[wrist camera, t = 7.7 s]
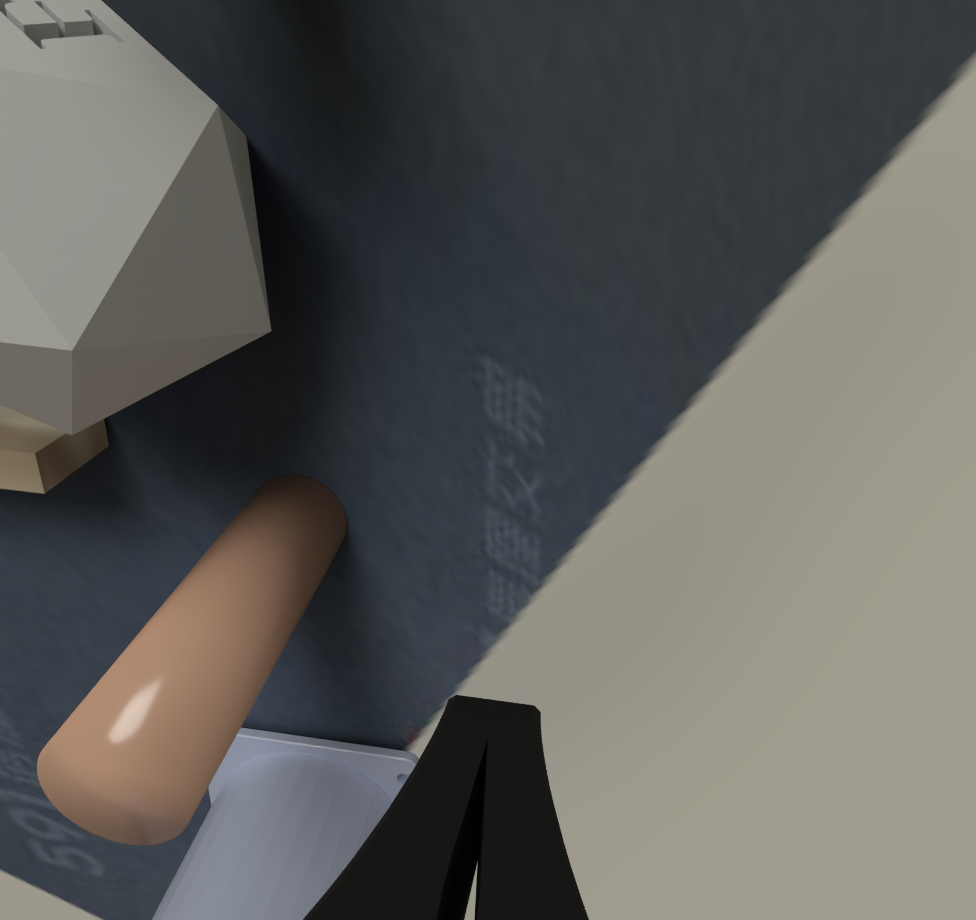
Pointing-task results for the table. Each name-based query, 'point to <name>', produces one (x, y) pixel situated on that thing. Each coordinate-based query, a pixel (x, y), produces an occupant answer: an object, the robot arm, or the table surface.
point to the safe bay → (43, 451)
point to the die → (114, 218)
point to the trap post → (193, 671)
